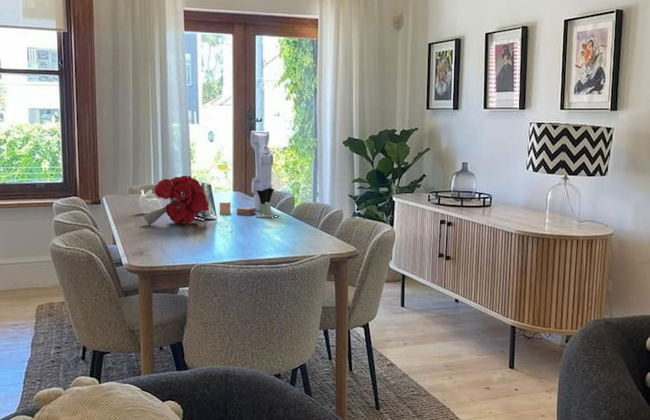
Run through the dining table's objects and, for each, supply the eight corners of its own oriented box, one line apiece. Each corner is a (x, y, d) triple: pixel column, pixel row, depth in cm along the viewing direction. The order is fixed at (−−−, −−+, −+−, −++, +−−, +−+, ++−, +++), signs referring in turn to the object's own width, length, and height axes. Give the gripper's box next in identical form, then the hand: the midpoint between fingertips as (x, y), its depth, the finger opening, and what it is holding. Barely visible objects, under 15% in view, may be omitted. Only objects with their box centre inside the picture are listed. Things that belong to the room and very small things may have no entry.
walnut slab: (244, 213, 344) (244, 206, 344) (255, 214, 341) (255, 208, 341) (237, 214, 338) (237, 208, 337) (248, 216, 335) (248, 209, 334)
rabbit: (139, 214, 327) (139, 190, 326) (138, 211, 336) (138, 188, 334) (163, 214, 331) (163, 190, 329) (162, 211, 340) (162, 188, 338)
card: (265, 215, 338) (265, 213, 338) (279, 216, 335) (279, 215, 335) (255, 217, 329) (255, 216, 329) (269, 219, 326) (269, 217, 326)
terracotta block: (223, 212, 342) (224, 201, 341) (230, 213, 340) (230, 202, 339) (219, 213, 338) (219, 202, 337) (226, 214, 336) (226, 203, 336)
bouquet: (162, 244, 287) (219, 209, 296) (134, 198, 281) (193, 164, 290) (156, 238, 307) (210, 206, 316) (129, 196, 301) (185, 164, 310)
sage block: (263, 213, 344) (264, 202, 343) (270, 214, 343) (270, 203, 342) (260, 214, 341) (260, 203, 340) (266, 215, 339) (266, 203, 338)
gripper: (263, 176, 347) (263, 201, 349) (253, 178, 333) (253, 204, 335) (276, 176, 345) (275, 201, 347) (266, 178, 331) (266, 204, 333)
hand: (265, 203), depth 341 cm, fingers open, 7 cm apart
